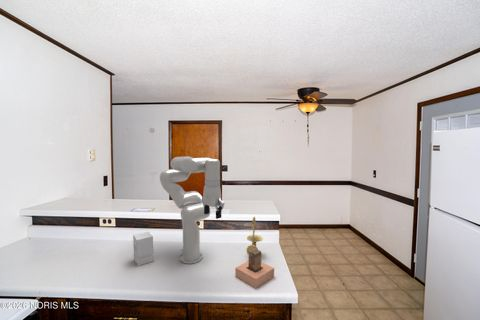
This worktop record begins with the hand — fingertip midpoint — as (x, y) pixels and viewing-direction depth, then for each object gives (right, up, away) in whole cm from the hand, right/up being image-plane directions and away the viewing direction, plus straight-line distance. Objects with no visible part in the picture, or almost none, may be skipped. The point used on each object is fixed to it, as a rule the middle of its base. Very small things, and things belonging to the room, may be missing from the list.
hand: (212, 215), depth 125 cm
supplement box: (-41, -29, +14) cm, 52 cm away
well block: (+22, -31, -1) cm, 38 cm away
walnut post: (+22, -30, -1) cm, 37 cm away
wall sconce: (+23, -29, +19) cm, 42 cm away
